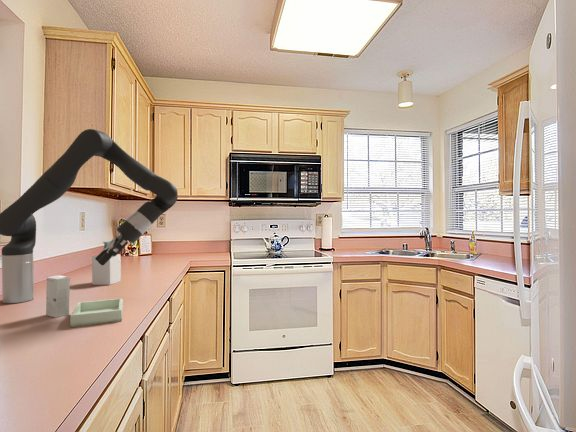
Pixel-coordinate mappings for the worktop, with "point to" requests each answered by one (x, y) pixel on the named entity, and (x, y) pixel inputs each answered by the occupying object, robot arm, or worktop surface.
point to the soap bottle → (106, 270)
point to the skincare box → (57, 296)
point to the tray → (97, 312)
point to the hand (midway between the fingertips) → (98, 262)
